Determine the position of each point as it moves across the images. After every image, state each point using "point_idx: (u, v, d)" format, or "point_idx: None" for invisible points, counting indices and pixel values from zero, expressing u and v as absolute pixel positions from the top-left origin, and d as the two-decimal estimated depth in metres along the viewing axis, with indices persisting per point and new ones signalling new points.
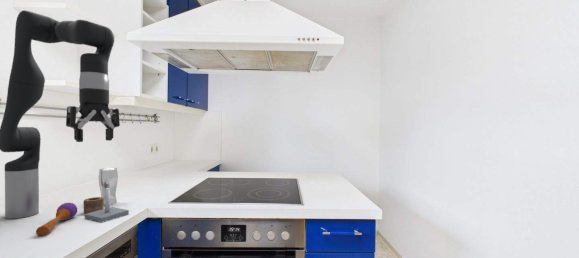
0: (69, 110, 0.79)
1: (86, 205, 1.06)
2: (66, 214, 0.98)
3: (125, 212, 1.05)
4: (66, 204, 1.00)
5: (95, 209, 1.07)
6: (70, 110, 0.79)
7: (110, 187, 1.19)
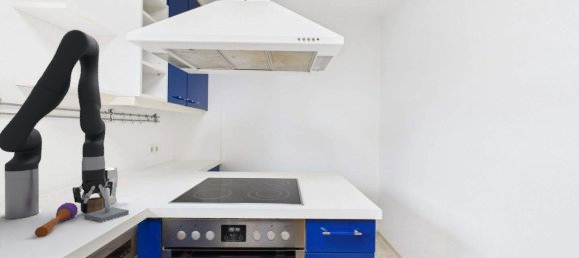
0: (74, 191, 1.03)
1: None
2: (66, 215, 0.97)
3: (125, 212, 1.05)
4: (66, 204, 1.00)
5: (95, 209, 1.07)
6: (75, 191, 1.03)
7: None
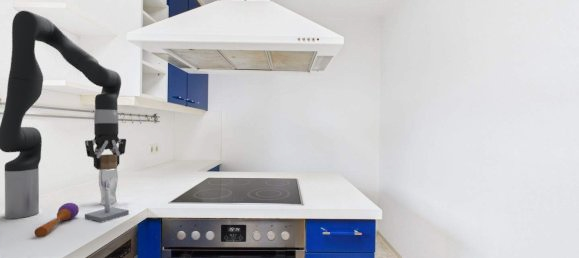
0: (87, 144, 0.98)
1: None
2: (67, 215, 0.97)
3: (125, 212, 1.05)
4: (67, 204, 1.00)
5: (109, 165, 1.01)
6: (88, 144, 0.97)
7: (110, 187, 1.19)
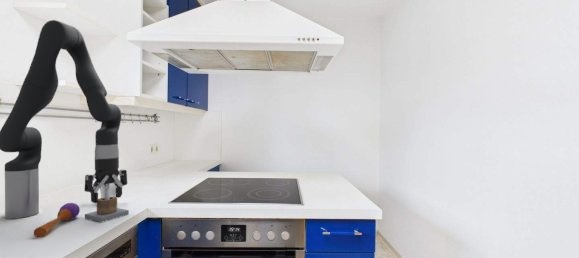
0: (87, 178, 0.98)
1: (99, 205, 1.01)
2: (67, 215, 0.97)
3: (125, 212, 1.05)
4: (68, 204, 1.00)
5: (109, 209, 1.02)
6: (88, 178, 0.97)
7: (110, 187, 1.19)
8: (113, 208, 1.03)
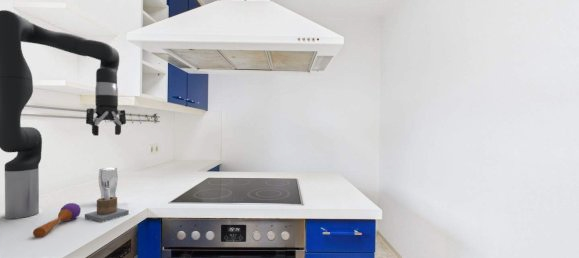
0: (88, 111, 1.05)
1: (99, 205, 1.01)
2: (68, 215, 0.97)
3: (125, 212, 1.05)
4: (69, 205, 1.00)
5: (109, 209, 1.02)
6: (89, 111, 1.05)
7: (110, 187, 1.19)
8: (113, 208, 1.03)
